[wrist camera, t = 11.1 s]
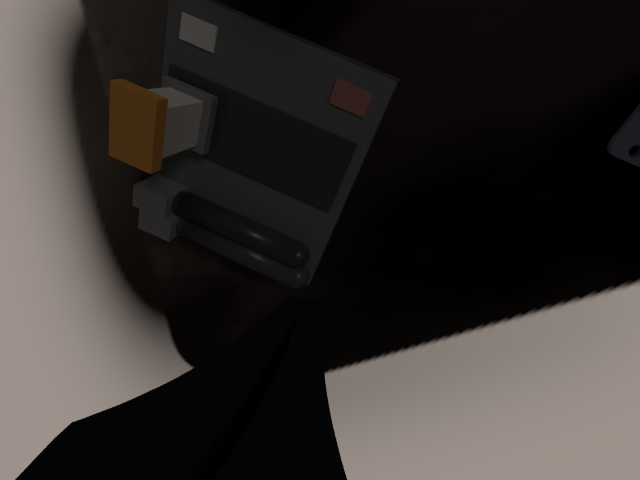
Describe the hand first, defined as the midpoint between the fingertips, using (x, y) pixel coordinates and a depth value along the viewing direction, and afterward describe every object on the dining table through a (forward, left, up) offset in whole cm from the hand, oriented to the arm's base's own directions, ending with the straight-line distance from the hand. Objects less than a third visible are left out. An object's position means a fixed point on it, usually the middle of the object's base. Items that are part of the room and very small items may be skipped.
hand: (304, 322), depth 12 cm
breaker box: (+6, -2, -9) cm, 11 cm away
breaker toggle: (+8, -3, -6) cm, 11 cm away
